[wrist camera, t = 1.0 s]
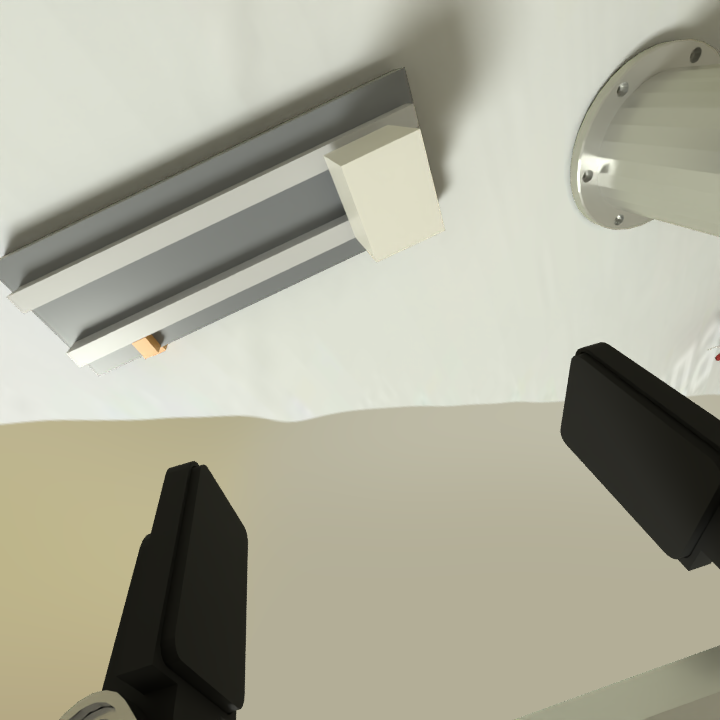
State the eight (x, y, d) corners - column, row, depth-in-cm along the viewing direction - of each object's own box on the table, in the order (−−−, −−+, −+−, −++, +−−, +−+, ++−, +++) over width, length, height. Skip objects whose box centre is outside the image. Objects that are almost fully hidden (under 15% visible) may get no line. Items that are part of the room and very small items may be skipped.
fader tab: (378, 123, 24) (420, 128, 18) (402, 203, 27) (445, 230, 21) (317, 152, 24) (340, 166, 18) (348, 229, 27) (376, 262, 21)
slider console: (394, 69, 24) (413, 64, 22) (431, 214, 30) (451, 225, 27) (3, 256, 25) (-29, 275, 22) (110, 365, 30) (96, 392, 27)
